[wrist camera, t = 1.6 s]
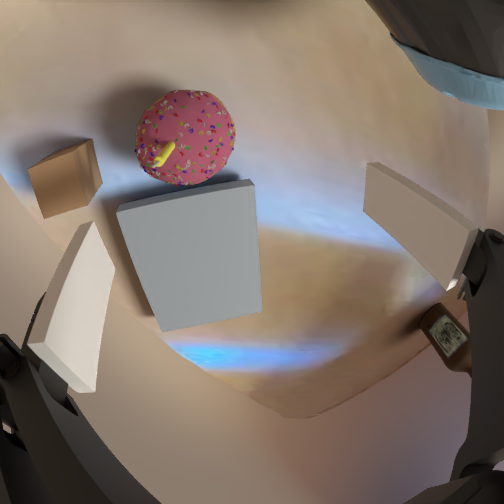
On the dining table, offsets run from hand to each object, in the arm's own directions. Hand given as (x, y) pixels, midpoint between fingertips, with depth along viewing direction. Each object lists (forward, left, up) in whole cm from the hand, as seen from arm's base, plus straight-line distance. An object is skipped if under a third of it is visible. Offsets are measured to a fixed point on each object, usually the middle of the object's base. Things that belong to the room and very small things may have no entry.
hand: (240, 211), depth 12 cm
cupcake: (-2, -2, -17) cm, 17 cm away
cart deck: (+13, -3, -17) cm, 22 cm away
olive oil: (+48, +54, -17) cm, 75 cm away
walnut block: (-1, -14, -17) cm, 22 cm away
